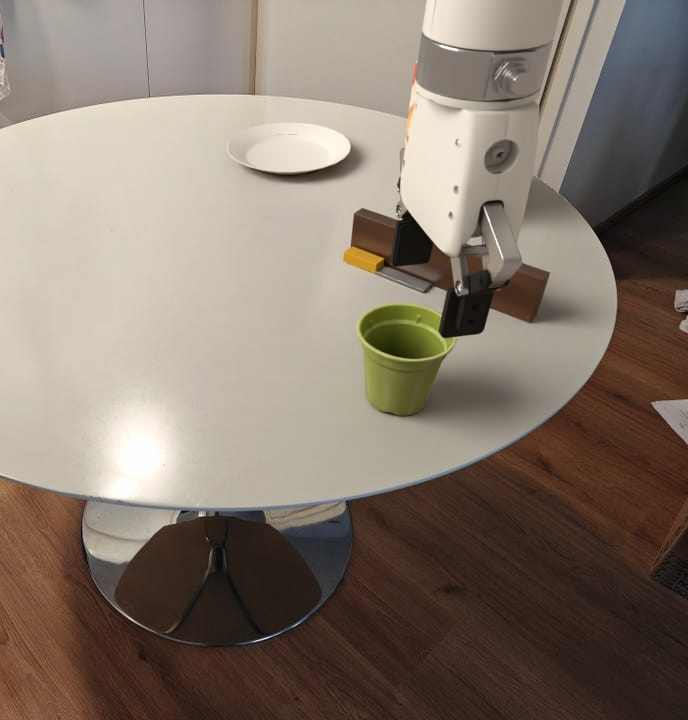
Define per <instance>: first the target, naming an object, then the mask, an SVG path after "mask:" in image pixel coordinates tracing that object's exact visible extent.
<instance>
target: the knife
mask: <svg viewBox="0 0 688 720" xmlns="http://www.w3.org/2000/svg"><path fill="white" fill-rule="evenodd" d="M350 247H351V246H350ZM350 247H349V248H348V249H346V250H345V251H343V258H342V261H343V262H345V263H347V264H350V265H352V266H354V267H357V268H359V269H362V270H365V271H367V272H369V273H372V274H374V275H377V276H379V277H381V278H384V279H387V280H389V281H393V282H395V283H397V284H400V285H402V286H404V287H406V288H409V289H412V290H415V291H417V292H419V293H422V294H424V293H426V291H428V290H429V289H430V288H432V286H433V285H432V284H431V283H428V282H426V281H423V280H420V279H418V278H415V277H413V276H410V275H408V274H405V273H403V272H400V271H397V270H395V269H392V268H390V267H387V266H385V265H384V258H382V257H379V256H376V255H374V254H371V253H369V252H366V251H363V250H361V249H358V248H356V247H353V246H352V247H351V248H350Z"/></svg>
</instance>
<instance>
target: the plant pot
mask: <svg viewBox="0 0 688 720" xmlns="http://www.w3.org/2000/svg"><path fill="white" fill-rule="evenodd" d="M441 316H442V312H439V311H436V310H435V309H433V308H430V307H427V306H424V305H420V304H415V303H408V302H393V303H385V304H381V305H378V306H375V307H372V308H370V309H369V310H367V311H365V312H364V313H363V314H362V315H361V316H360V317H359V319H358V321H357V323H356V335H357V337H358V340H359V341H360V344H361V348H362V350H363V364H364V365H363V366H364V382H365V383H364V385H365V396H366V399H367V401H368V403H369V404H370V405H371V406H372V407H373V408H375V409H376V410H378V411H379V412H382V413H391V414H393V415H396V416H400V417H401V416H409V415H413V414H416V413H418V412H420V411H421V410H422V409H423V408H424V407H425V405H426V403H427V400H428V398H429V395H430V393H431V391H432V388H433V385H434V382H435V380H436V378H437V375H438V373H439V370H440V368H441V365H442V363H443V361H444V360H445V359H446V358H447V357H448V355H449V354H450V353H451V352H452V351H453V350H454V348H455V346H456V345H457V341H458V337H451V338H442V337H441V335H440V334H439V332H438V330H439V326H440V321H441Z"/></svg>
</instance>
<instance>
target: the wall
mask: <svg viewBox="0 0 688 720" xmlns="http://www.w3.org/2000/svg"><path fill="white" fill-rule="evenodd" d="M352 218H353V220H352V229H351V237H350V238H351V239H350V247H349V248H351V247H352V246H353V247H356V248H358V249H361V250H363V251H366V252H369V253H371V254H374V255H376V256H379V257H382V258H384V265H385V266H387V267H390V268H392V269H395V270H397V271H400V272H403V273H405V274H408V275H410V276H413V277H415V278H418V279H420V280H423V281H426V282H428V283H431V284H432V285H431V286H434V287H436V288H438V289H441V290H444V291H446V292H447V289H448V288H451V287H454V281H453V274H452V266H451V258H450V256H448V255H446V254H445V253H444V252H443V251H441V250H440V249H439V248H438V247H437V246H436V245H435V243H434V242H433V247H432V252H431V257H430V261H429V262H428V263H425V264H416V265H407V266H399V267H395V266H393V264H392V263H391V254H392V247H393V240H394V234H395V227H396V220H397V219H396V218H394V217H393V218H392V217H390V216H388V215H384V214H382V213H379V212H376V211H373V210H370V209H368V208H364V207H361V208H359V209H357V210H356V211H355V212H354V213H353V217H352ZM466 246H473V245H471V244H470V243H469V244H468V243H467V244H462V247H466ZM466 261H467V268H468V276H469V275H471V274H473V273H475V272H477V271H479V270H483V262H482V256H473V257H466ZM550 274H551V272H550V271H548V270H544V269H541V268H539V267H535V266H532V265H530V264H526V263H525V262H522V264H521V267H520V268H519V269H518V270H517V272H516V273H515V274H514V275H513V276H512V277H511V279H510V281H509V284H508V285H507V286H505V287H503V288H501V289H500V291H499V292H494V295H493V298H492V302H491V306H490V309H492V310H495V311H496V312H497V311H498V312H501V313H503V314H505V315H508V316H511V317H513V318H515V319H518V320H521V321H523V322H526V323H528V324H530V323H531V322H532V321H533V320H534V319H535V318H536V317H537V316H538V313H539V310H540V306H541V303H542V301H543V297H544V293H545V291H546V288H547V285H548V281H549V278H550Z"/></svg>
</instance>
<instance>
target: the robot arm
mask: <svg viewBox="0 0 688 720" xmlns="http://www.w3.org/2000/svg"><path fill="white" fill-rule="evenodd" d="M564 1H565V0H426V2H425V8H424V16H423V20H422V22H423V23H422V29H421V35H420V41H419V49H418V55H417V60H416V61H417V68H416V75H415V82H414V90H415V91H416V93H417V96H416V100H415V104H414V108H413V113H412V117H411V122H410V126H409V131H408V136H407V141H406V146H405V148H404V147H403V148H401V149H400V151H399V176H400V175H401V177H400V178H399V177H398V180H397V183H396V187H397V189H398V188H399V191H398V192H399V197H400V200H399V201H398V202H397V203H396V205H395V215H396V217H397V219H396V227H395V234H394V240H393V247H392V254H391V263H392V264H393V266H395V267H399V266H407V265H416V264H425V263H428V262H429V261H430V257H431V252H432V247H433V242H434V243H435V245H436V246H437V247H438V248H439V249H440V250H441V251H443V252H444V253H445V254H446V255H448V256H450V258H451V266H452V274H453V281H454V287H451V288H448V289H447V291H446V294H445V297H444V298H445V299H444V303H443V307H442V312H441V314H442V316H441V321H440V326H439V330H438V332H439V334H440V335H441V337H442V338H451V337H457V338H460V337H466V336H467V337H468V336H474V335H480V334H482V333H483V332H484V331H485V328H486V324H487V320H488V316H489V313H490V309H491V308H490V306H491V302H492V298H493V295H494V292H499V291H500V289H501V288H503V287H505V286H507V285H508V284H509V281H510V279H511V277H512V276H513V275H514V274H515V273H516V272H517V270H518V269H519V268H520V267H521V264H522V263H523V258H522V257H523V256H522V254H521V252H520V249H519V246H518V244H517V242H518V240H519V237H520V232H521V228H522V224H523V221H524V216H525V212H526V207H527V203H528V198H529V195H530V189H531V183H532V180H533V179H532V178H533V172H534V168H535V160H536V154H537V146H538V137H539V127H540V105H539V103H537V101H536V100H538V98H539V97H540V93H541V90H542V85H543V82H544V78H545V75H546V71H547V67H548V63H549V60H550V55H551V51H552V48H553V44H554V41H555V39H554V38H555V35H556V31H557V27H558V24H559V20H560V15H561V13H562V8H563V4H564ZM475 238H481V244H475V245H472V246H466V247H462V244H468V242H469V241H470V239H475ZM473 256H482V262H483V270H479V271H477V272H475V273H473V274H471V275H469V276H468V268H467V261H466V257H473Z"/></svg>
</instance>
